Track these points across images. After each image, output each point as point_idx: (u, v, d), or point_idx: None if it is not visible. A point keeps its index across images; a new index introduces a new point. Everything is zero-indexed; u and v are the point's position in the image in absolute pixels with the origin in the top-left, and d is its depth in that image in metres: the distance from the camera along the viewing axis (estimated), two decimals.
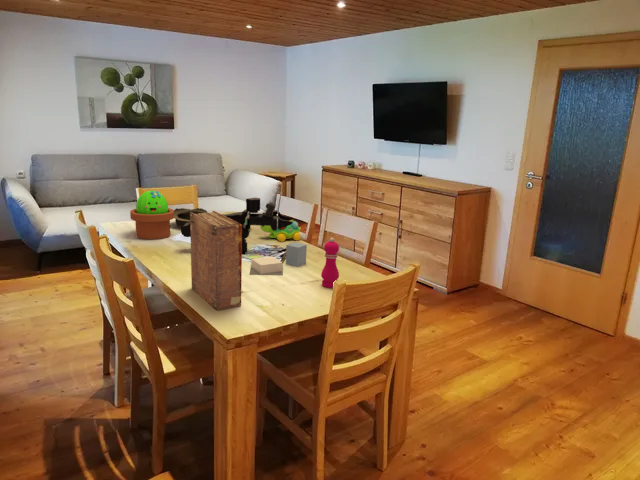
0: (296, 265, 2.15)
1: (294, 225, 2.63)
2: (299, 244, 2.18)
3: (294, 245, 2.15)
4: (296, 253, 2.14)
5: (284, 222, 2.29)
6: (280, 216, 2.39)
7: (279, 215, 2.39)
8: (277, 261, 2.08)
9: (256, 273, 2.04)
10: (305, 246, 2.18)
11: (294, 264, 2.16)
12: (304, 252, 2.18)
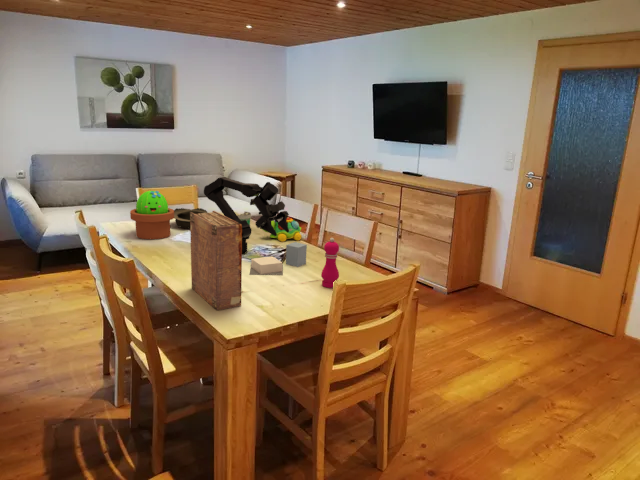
0: (296, 265, 2.15)
1: (295, 225, 2.62)
2: (299, 244, 2.18)
3: (294, 245, 2.15)
4: (296, 253, 2.14)
5: (270, 228, 2.16)
6: (283, 220, 2.25)
7: (283, 219, 2.25)
8: (277, 261, 2.08)
9: (256, 273, 2.04)
10: (305, 246, 2.18)
11: (294, 264, 2.16)
12: (304, 252, 2.18)
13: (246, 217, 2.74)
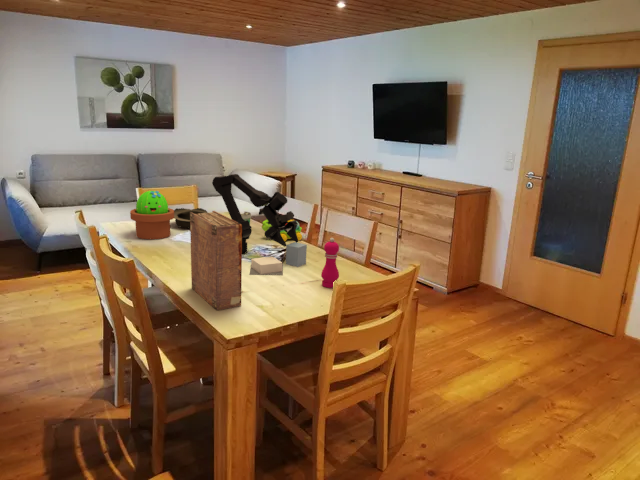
0: (296, 265, 2.15)
1: None
2: (299, 244, 2.18)
3: (294, 245, 2.15)
4: (296, 253, 2.14)
5: (279, 239, 2.15)
6: (292, 230, 2.24)
7: (292, 229, 2.24)
8: (277, 261, 2.08)
9: (256, 273, 2.04)
10: (305, 246, 2.18)
11: (294, 264, 2.16)
12: (304, 252, 2.18)
13: (246, 217, 2.74)
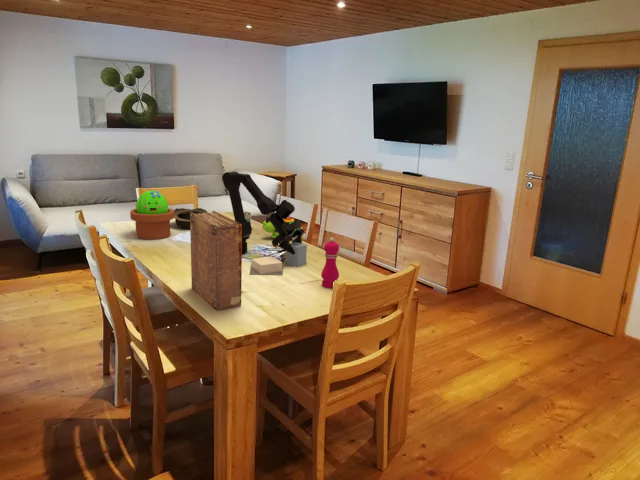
0: (296, 265, 2.15)
1: None
2: (299, 244, 2.18)
3: (294, 245, 2.15)
4: (296, 253, 2.14)
5: (288, 247, 2.14)
6: (297, 239, 2.21)
7: (297, 237, 2.21)
8: (277, 261, 2.08)
9: (256, 273, 2.04)
10: (305, 246, 2.18)
11: (294, 264, 2.16)
12: (304, 252, 2.18)
13: (246, 217, 2.74)
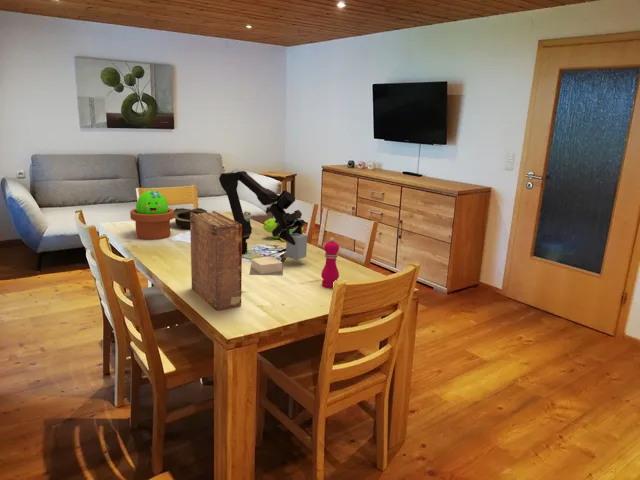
0: (297, 256, 2.14)
1: None
2: (299, 235, 2.17)
3: (294, 236, 2.14)
4: (296, 243, 2.13)
5: (288, 237, 2.13)
6: (298, 230, 2.20)
7: (298, 228, 2.20)
8: (277, 261, 2.08)
9: (256, 273, 2.04)
10: (305, 237, 2.17)
11: (294, 255, 2.15)
12: (304, 243, 2.17)
13: (246, 217, 2.74)
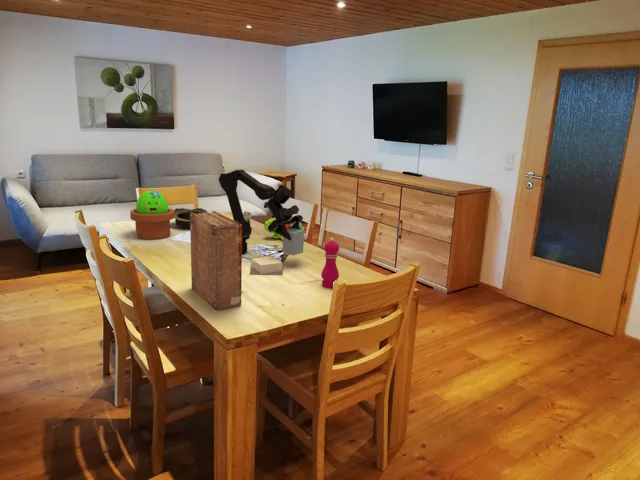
0: (293, 251, 2.12)
1: None
2: (296, 230, 2.15)
3: (290, 231, 2.12)
4: (292, 239, 2.11)
5: (284, 232, 2.11)
6: (295, 225, 2.18)
7: (295, 224, 2.18)
8: (277, 261, 2.08)
9: (256, 273, 2.04)
10: (302, 232, 2.14)
11: (290, 250, 2.13)
12: (301, 238, 2.14)
13: (246, 217, 2.74)
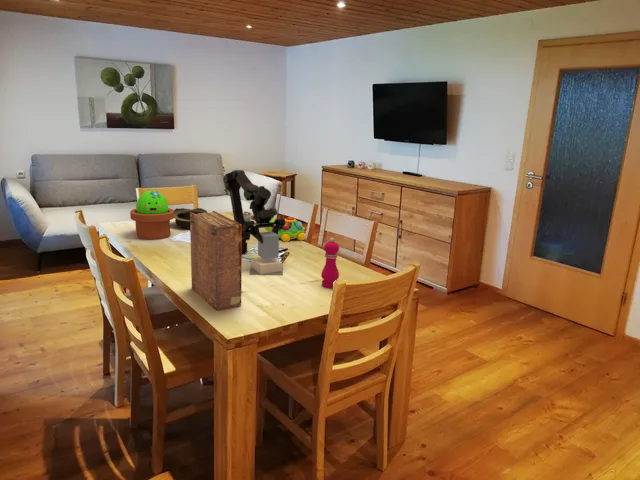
0: (264, 255, 2.04)
1: (298, 225, 2.63)
2: (272, 234, 2.06)
3: (264, 234, 2.05)
4: (263, 242, 2.03)
5: (257, 235, 2.05)
6: (274, 229, 2.10)
7: (274, 227, 2.09)
8: (277, 261, 2.08)
9: (256, 273, 2.04)
10: (276, 236, 2.05)
11: (262, 254, 2.05)
12: (275, 243, 2.05)
13: (246, 217, 2.74)
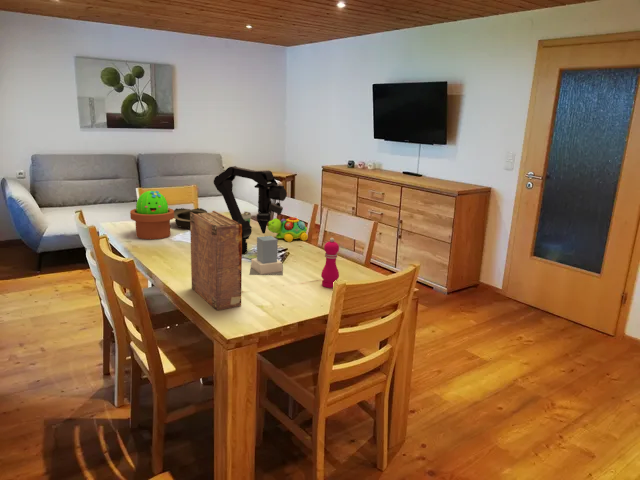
0: (262, 259, 2.05)
1: (301, 225, 2.63)
2: (270, 238, 2.07)
3: (262, 238, 2.05)
4: (262, 246, 2.03)
5: (264, 225, 2.20)
6: None
7: None
8: (277, 261, 2.08)
9: (256, 273, 2.04)
10: (275, 241, 2.05)
11: (261, 258, 2.06)
12: (274, 247, 2.05)
13: (246, 217, 2.74)
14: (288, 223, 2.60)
